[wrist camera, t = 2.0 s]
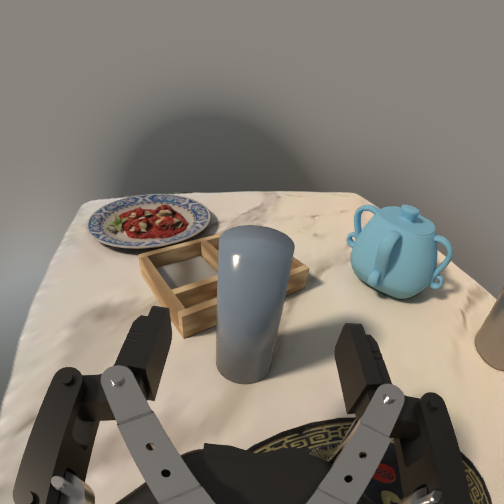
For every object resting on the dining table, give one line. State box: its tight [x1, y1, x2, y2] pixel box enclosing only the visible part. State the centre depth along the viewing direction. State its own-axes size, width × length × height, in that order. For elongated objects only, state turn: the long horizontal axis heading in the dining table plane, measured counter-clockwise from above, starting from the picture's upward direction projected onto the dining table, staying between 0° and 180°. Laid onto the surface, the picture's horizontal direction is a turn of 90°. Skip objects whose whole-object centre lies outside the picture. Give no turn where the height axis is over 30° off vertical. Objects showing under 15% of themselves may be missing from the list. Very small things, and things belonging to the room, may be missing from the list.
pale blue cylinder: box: [216, 225, 295, 384], centre depth 27 cm, size 6×6×15 cm
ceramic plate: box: [87, 194, 211, 249], centre depth 58 cm, size 26×26×3 cm
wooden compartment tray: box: [139, 233, 309, 338], centre depth 43 cm, size 20×15×4 cm
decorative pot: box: [347, 205, 453, 299], centre depth 45 cm, size 16×16×14 cm
